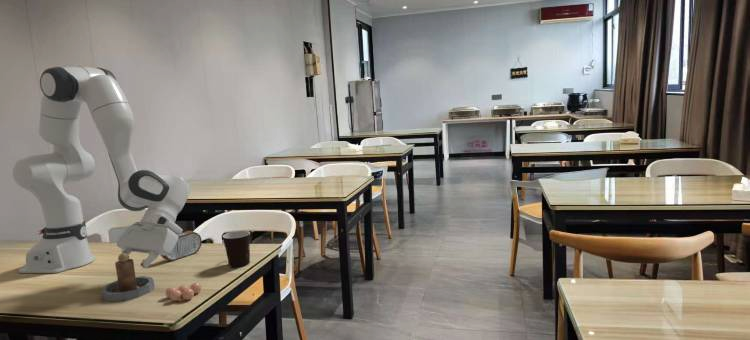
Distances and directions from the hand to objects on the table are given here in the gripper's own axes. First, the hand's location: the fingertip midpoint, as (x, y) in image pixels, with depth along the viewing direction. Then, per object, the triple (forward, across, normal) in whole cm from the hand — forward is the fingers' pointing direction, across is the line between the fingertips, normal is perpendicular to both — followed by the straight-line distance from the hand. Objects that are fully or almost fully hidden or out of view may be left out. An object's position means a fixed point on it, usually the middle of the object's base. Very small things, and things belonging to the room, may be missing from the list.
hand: (132, 265), depth 142 cm
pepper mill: (+7, 0, +3) cm, 8 cm away
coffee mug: (-14, +16, +25) cm, 33 cm away
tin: (-13, -10, +24) cm, 29 cm away
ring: (+7, 0, +3) cm, 7 cm away
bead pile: (+5, +19, +5) cm, 21 cm away
